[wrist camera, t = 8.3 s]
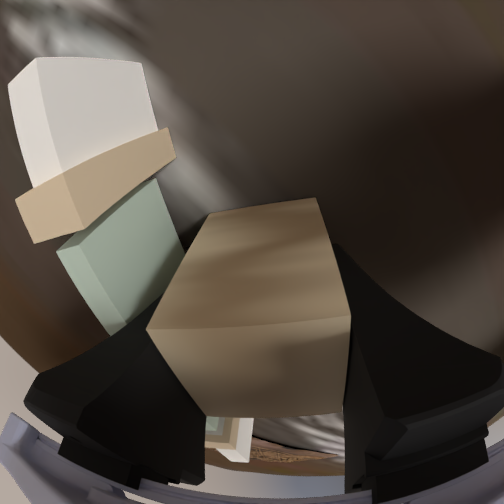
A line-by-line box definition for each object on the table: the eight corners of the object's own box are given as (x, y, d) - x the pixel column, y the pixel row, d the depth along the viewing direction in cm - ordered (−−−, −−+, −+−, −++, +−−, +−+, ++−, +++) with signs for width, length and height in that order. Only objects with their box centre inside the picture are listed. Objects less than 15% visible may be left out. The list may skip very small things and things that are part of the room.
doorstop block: (315, 197, 10) (351, 314, 4) (323, 285, 11) (341, 412, 6) (209, 213, 10) (145, 329, 5) (234, 295, 12) (206, 416, 7)
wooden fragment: (133, 421, 26) (131, 428, 25) (145, 395, 21) (142, 404, 20) (306, 463, 31) (306, 468, 30) (358, 443, 25) (359, 450, 24)
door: (155, 177, 9) (78, 245, 5) (230, 352, 14) (216, 430, 10) (122, 189, 10) (44, 255, 6) (204, 354, 15) (185, 428, 11)
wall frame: (151, 59, 7) (34, 48, 2) (260, 399, 18) (254, 467, 13) (106, 79, 8) (-12, 96, 3) (234, 399, 18) (224, 465, 14)
